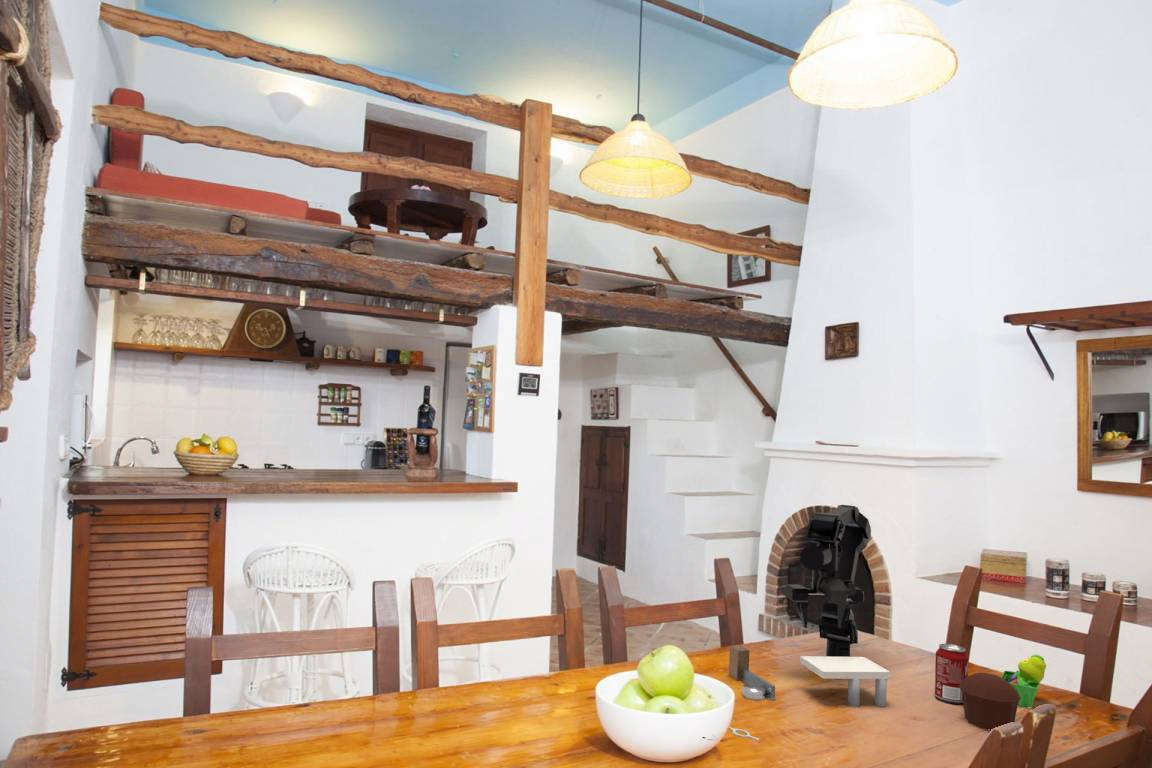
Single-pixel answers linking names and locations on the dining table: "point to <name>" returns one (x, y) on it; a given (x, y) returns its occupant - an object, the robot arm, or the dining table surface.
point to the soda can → (950, 672)
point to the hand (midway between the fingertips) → (822, 628)
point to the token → (753, 692)
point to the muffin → (989, 700)
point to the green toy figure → (1027, 679)
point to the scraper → (747, 670)
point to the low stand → (850, 674)
